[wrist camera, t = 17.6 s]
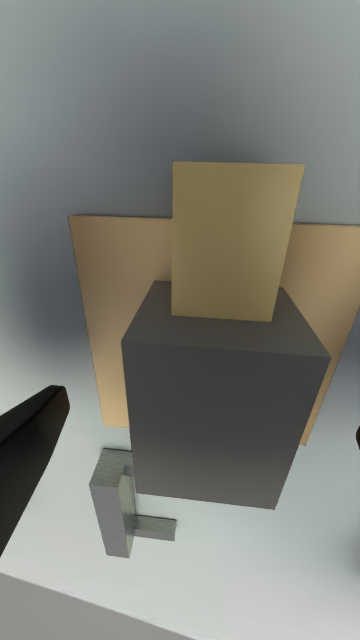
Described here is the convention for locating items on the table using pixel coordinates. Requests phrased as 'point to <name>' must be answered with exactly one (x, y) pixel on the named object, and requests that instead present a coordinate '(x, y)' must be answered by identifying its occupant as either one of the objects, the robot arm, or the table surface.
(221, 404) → the plug
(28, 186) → the table surface
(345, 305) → the pad
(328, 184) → the table surface
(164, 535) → the pair of grey brackets
